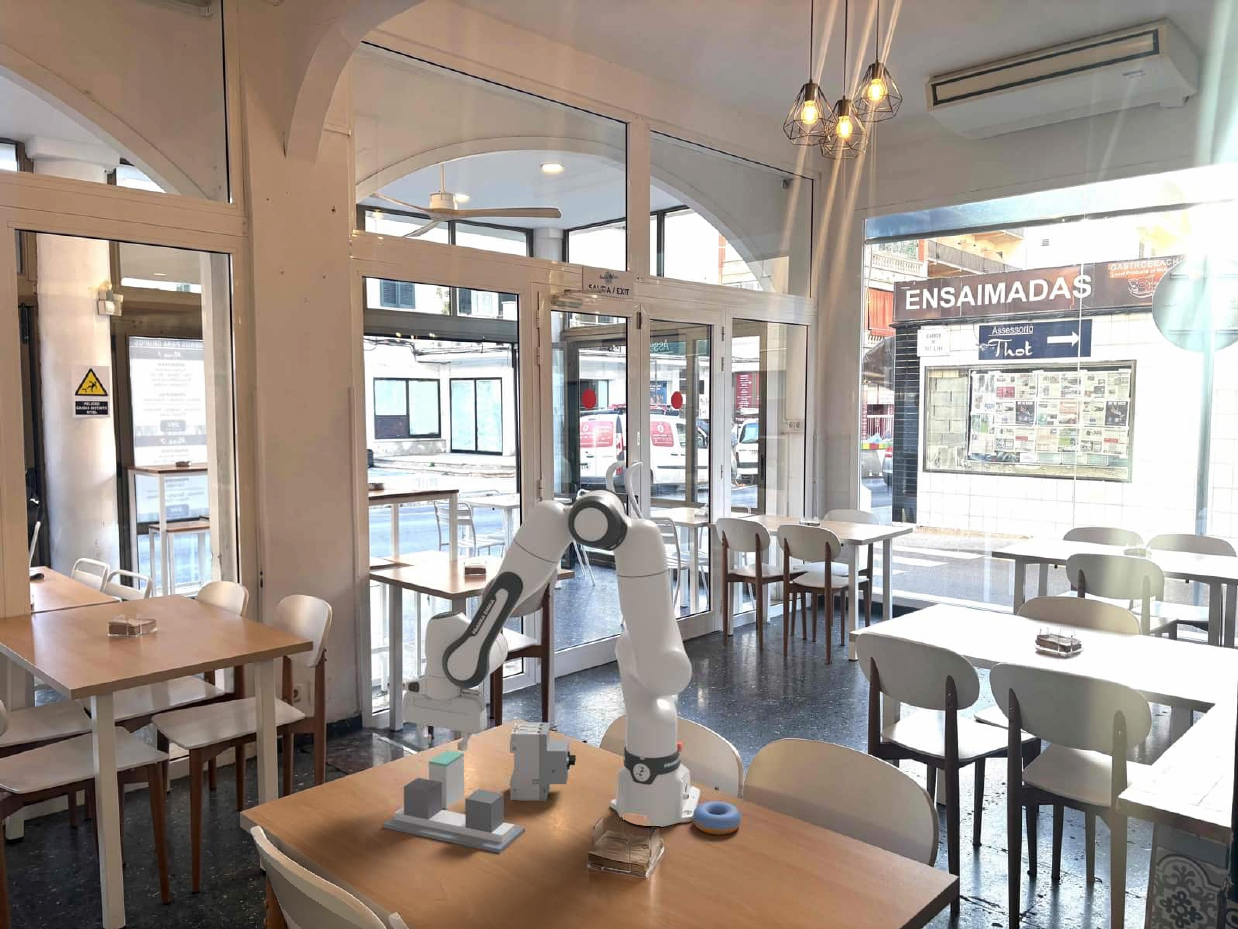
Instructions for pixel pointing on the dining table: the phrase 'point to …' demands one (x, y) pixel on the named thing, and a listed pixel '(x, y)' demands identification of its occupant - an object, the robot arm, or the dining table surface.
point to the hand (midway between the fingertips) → (444, 746)
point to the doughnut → (716, 817)
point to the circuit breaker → (537, 761)
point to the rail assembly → (454, 817)
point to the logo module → (448, 776)
